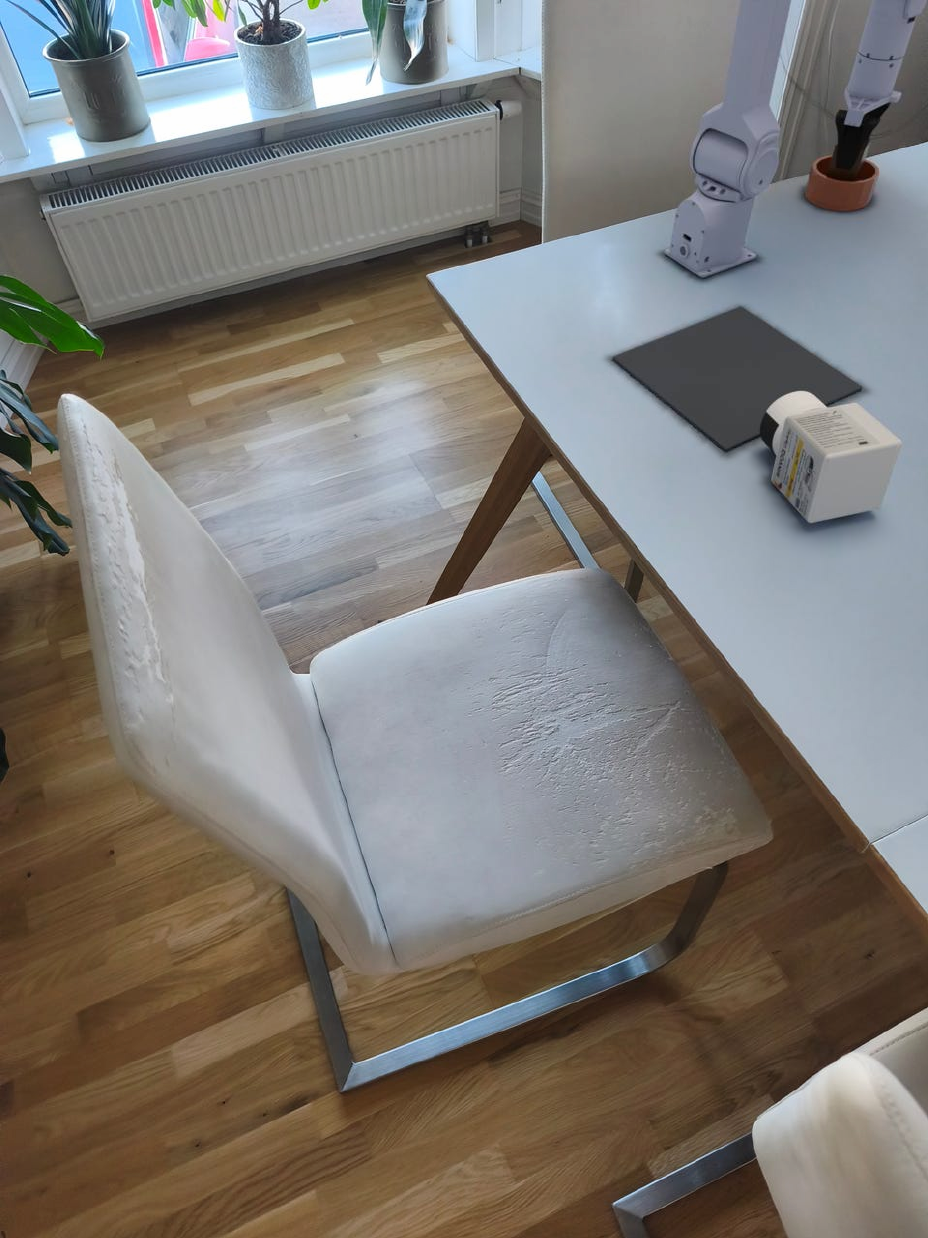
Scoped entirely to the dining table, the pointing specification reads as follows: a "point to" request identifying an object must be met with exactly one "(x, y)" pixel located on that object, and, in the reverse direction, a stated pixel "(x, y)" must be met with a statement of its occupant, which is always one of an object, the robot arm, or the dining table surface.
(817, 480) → the container
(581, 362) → the dining table surface
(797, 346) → the mat
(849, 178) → the block
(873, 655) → the dining table surface
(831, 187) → the orange round bowl
